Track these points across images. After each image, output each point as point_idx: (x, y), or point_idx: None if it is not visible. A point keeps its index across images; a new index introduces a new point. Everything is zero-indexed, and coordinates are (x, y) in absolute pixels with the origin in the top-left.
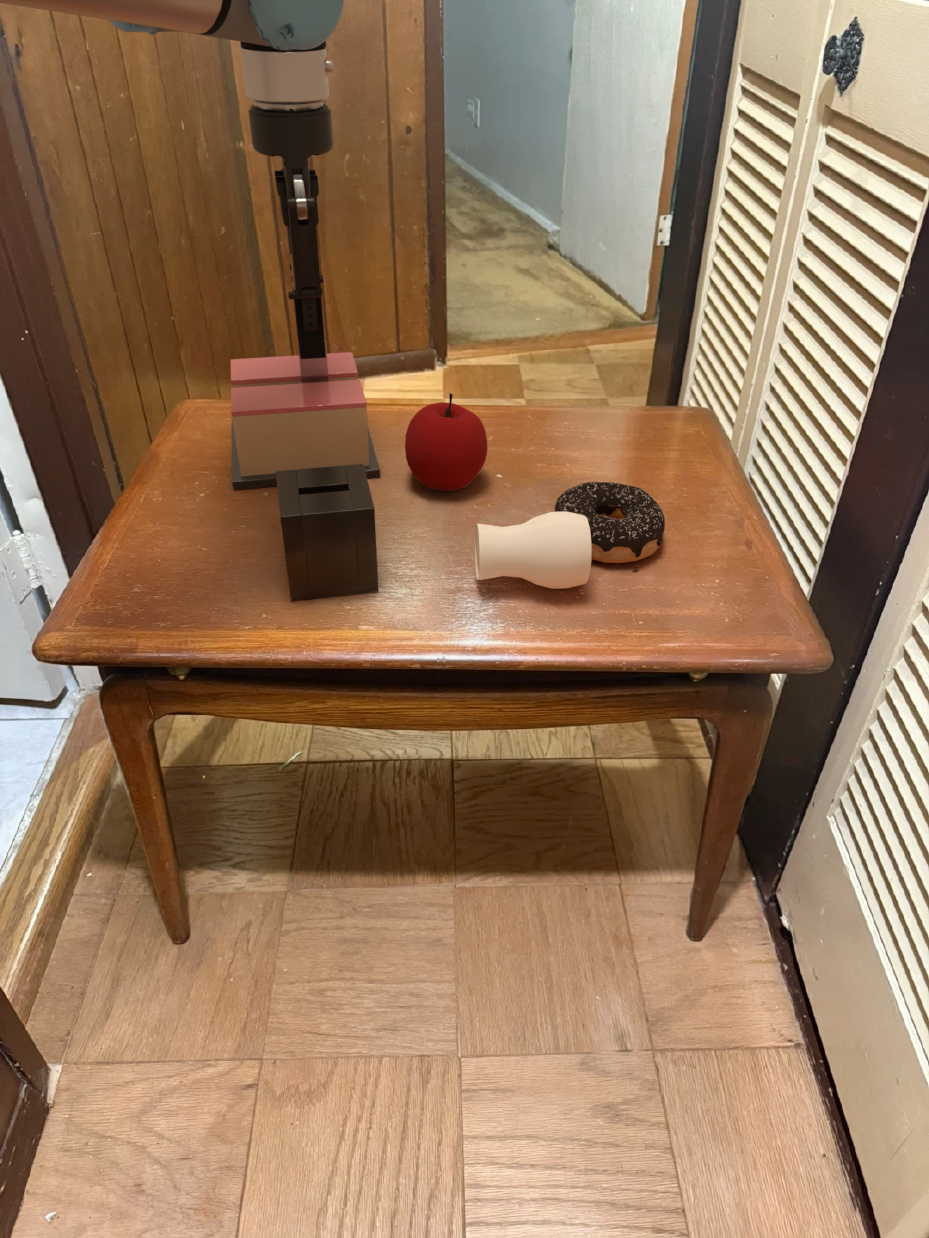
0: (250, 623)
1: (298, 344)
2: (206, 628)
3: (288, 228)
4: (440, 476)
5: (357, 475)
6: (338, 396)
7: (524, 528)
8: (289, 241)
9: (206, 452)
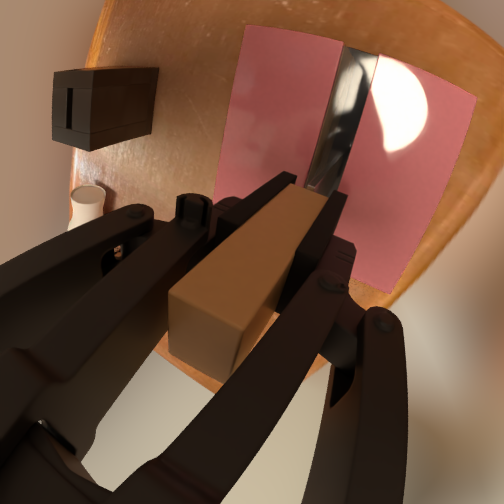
0: (106, 40)
1: (307, 185)
2: (111, 15)
3: (187, 426)
4: None
5: (77, 140)
6: (239, 192)
7: (74, 225)
8: (230, 377)
9: (394, 31)
